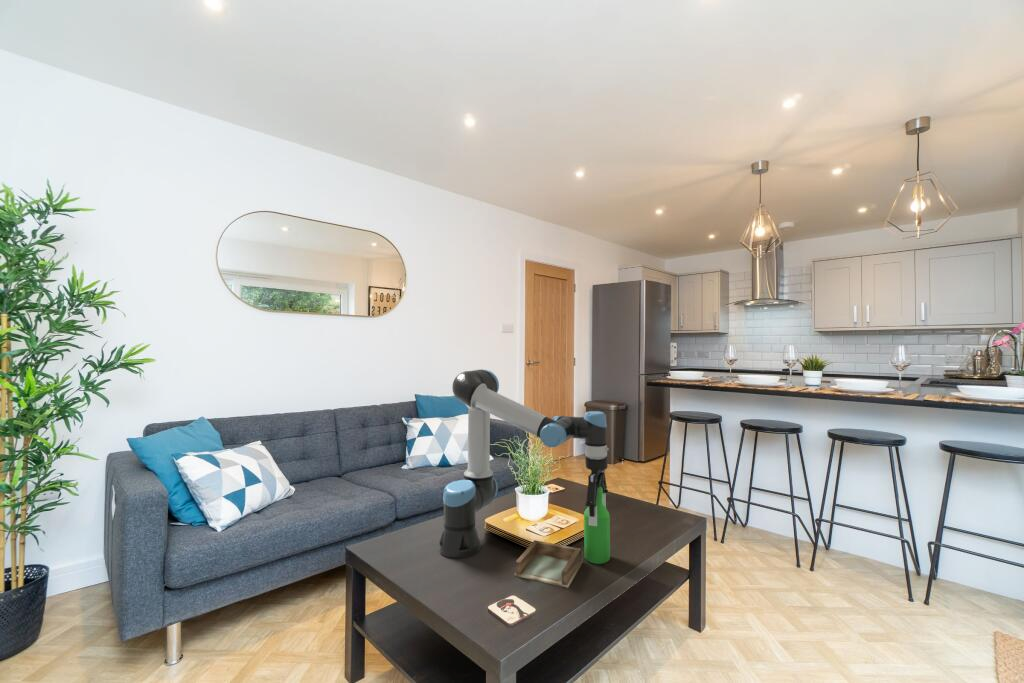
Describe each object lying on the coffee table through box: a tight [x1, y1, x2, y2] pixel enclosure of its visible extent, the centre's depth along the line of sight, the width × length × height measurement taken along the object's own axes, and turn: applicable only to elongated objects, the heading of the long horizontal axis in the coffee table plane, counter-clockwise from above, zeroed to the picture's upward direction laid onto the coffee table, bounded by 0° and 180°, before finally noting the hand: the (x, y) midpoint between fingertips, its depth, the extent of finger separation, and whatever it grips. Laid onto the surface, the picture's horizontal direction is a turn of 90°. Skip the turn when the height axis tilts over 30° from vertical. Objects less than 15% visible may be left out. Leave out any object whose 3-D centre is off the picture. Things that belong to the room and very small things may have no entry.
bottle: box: [583, 486, 611, 565], centre depth 153 cm, size 9×9×25 cm
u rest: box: [513, 539, 584, 589], centre depth 147 cm, size 18×17×5 cm
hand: (597, 518), depth 153 cm, fingers open, 13 cm apart
